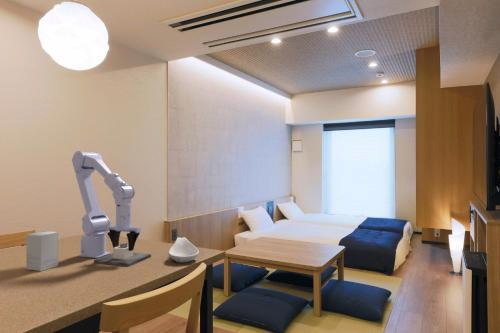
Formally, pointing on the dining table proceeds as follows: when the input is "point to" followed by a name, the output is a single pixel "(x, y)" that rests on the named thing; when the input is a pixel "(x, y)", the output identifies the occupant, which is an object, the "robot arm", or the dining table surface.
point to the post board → (124, 262)
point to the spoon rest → (183, 250)
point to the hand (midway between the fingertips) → (123, 249)
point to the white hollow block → (122, 253)
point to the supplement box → (42, 250)
